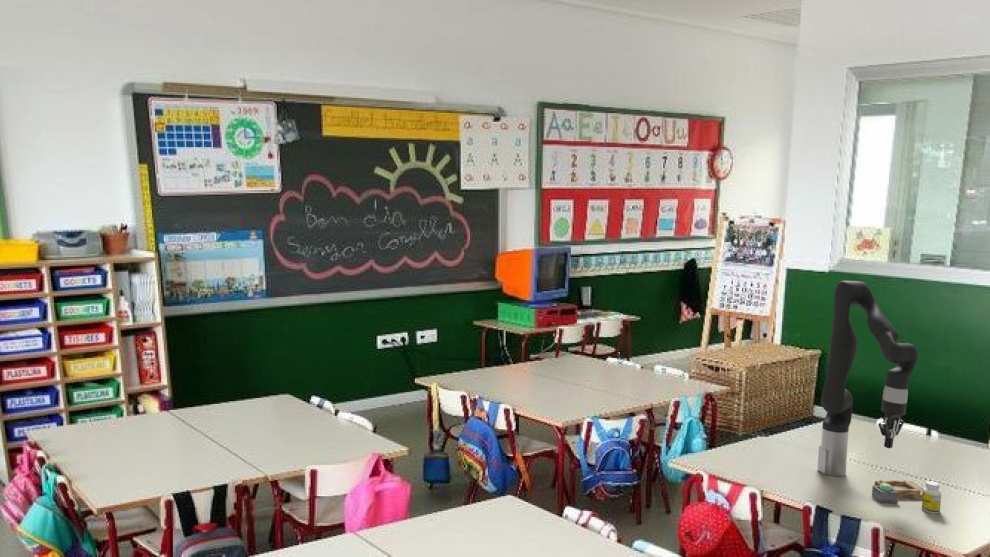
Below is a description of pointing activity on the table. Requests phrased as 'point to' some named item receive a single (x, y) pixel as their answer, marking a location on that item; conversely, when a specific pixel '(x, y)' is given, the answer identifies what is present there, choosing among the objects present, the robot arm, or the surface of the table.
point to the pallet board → (904, 488)
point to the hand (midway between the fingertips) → (888, 447)
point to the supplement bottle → (931, 498)
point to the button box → (885, 495)
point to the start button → (885, 487)
